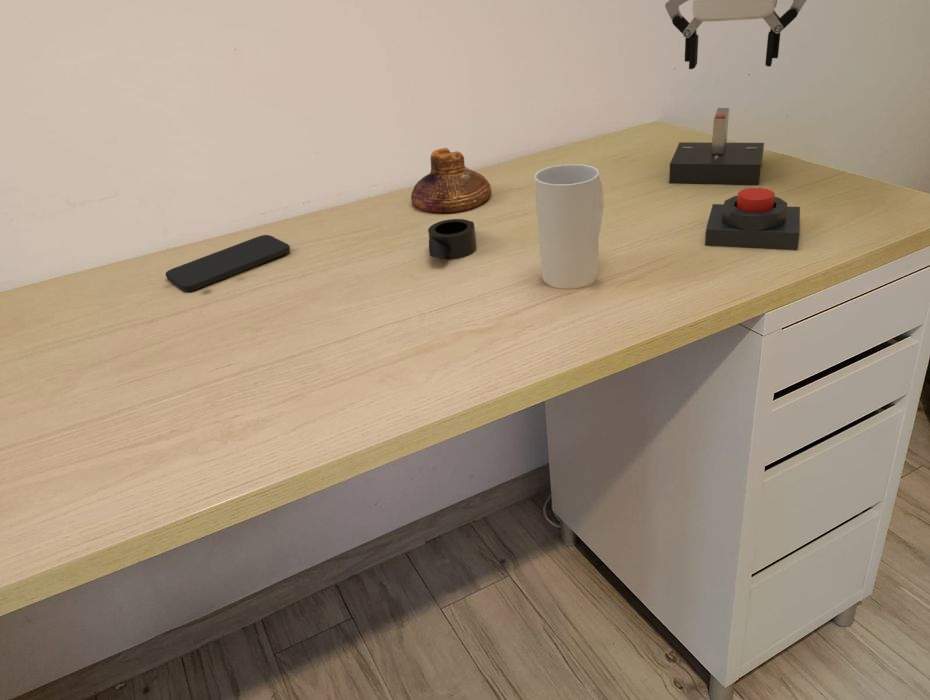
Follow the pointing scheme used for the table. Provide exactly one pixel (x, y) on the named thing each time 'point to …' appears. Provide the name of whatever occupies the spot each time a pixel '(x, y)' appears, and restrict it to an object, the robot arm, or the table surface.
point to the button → (755, 200)
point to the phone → (226, 262)
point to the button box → (753, 226)
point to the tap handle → (720, 131)
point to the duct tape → (452, 239)
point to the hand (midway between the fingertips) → (730, 65)
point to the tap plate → (716, 164)
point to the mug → (569, 224)
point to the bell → (450, 185)
